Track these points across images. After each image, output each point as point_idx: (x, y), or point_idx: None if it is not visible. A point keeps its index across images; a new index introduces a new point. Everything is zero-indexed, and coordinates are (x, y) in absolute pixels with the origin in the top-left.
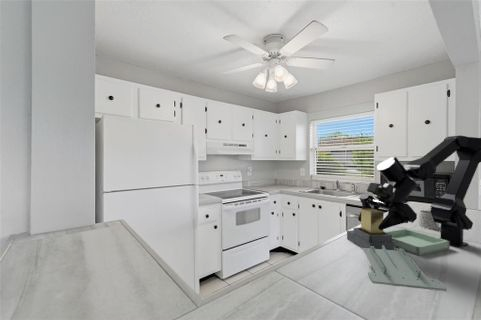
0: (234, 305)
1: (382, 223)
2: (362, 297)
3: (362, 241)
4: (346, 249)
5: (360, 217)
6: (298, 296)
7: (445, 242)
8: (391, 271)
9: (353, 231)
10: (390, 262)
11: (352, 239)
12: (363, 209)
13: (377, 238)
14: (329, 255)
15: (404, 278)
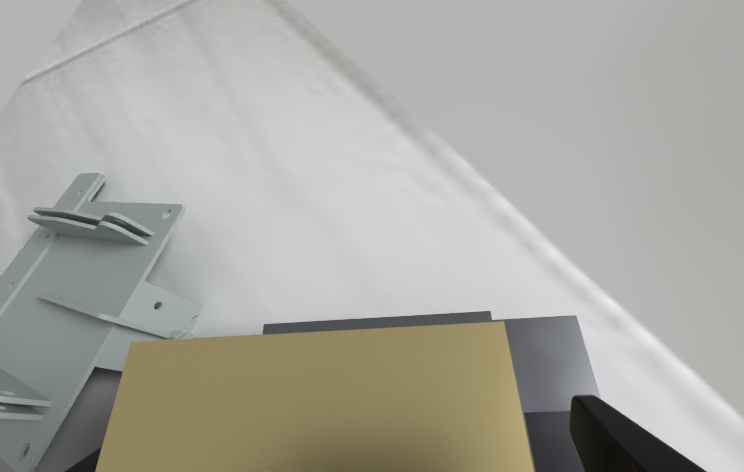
0: None
1: (77, 470)
2: (52, 115)
3: None
4: (353, 227)
5: (602, 436)
6: (125, 6)
7: None
8: (50, 262)
9: (558, 370)
10: (64, 292)
11: None
12: (433, 343)
13: None
14: (298, 124)
15: (8, 288)
